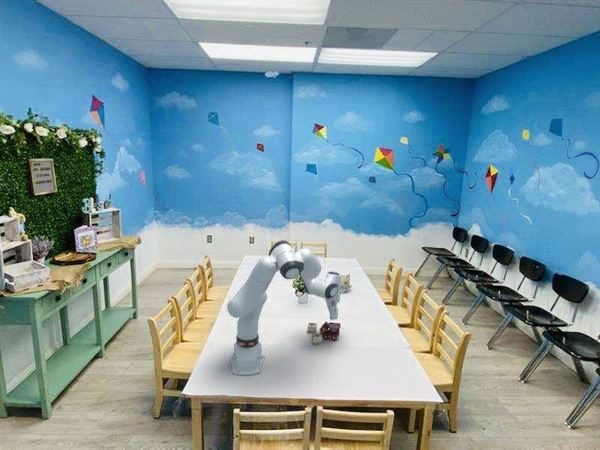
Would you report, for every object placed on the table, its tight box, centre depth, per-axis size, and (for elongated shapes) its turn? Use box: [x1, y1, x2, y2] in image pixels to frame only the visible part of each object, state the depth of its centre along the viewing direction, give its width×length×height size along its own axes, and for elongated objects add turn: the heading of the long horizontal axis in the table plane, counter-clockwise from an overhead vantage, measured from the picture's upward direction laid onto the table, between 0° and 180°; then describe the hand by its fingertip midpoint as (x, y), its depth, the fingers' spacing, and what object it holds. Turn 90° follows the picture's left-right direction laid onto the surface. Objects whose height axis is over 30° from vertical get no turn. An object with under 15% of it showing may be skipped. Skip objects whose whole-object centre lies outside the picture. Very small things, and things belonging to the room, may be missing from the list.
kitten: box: [340, 274, 353, 294], centre depth 299 cm, size 15×10×15 cm, turn 76°
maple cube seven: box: [307, 322, 318, 335], centre depth 238 cm, size 5×5×5 cm
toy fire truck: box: [319, 321, 341, 342], centre depth 231 cm, size 7×12×10 cm, turn 80°
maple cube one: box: [310, 332, 323, 347], centre depth 225 cm, size 5×5×5 cm
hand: (331, 319), depth 229 cm, fingers closed
